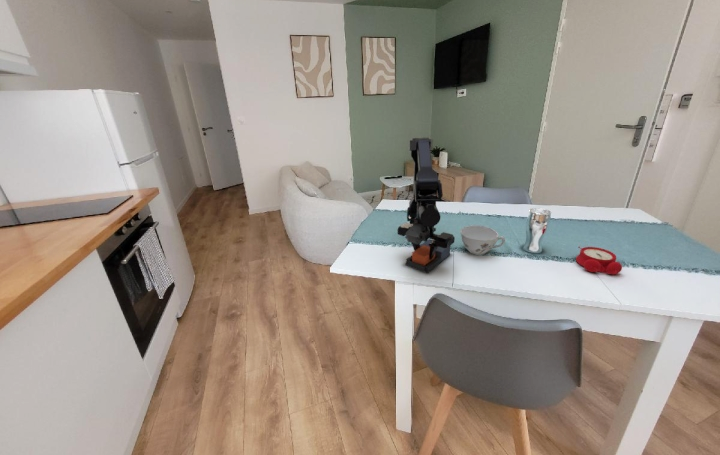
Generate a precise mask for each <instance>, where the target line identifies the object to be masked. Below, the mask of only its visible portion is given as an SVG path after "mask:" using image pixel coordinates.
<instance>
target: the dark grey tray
mask: <svg viewBox="0 0 720 455" xmlns="http://www.w3.org/2000/svg"><path fill="white" fill-rule="evenodd" d="M430 243H432V239H429V238H428V240H427V241H426V242H425V241H423V242H421V243H420V247H421V246H422V245H424V246H427V247H430V246H429V244H430ZM451 248H452V245H450V246H449V247H448V248H442V247H438V248H437V250H436V252H435V258H434V259H433V260H432V261H430V262H429V263H428V264H426V265H425V266H423V265H421V264H418V263H415V262H412V255H410V256H409V257H407V258H406V259H405V260H406V261H405V263H404V265H405V266H407V267H410V268H411V269H415V270H418V271H420V272H423V273H426V274H429V273H430V272H432V271H433V270H434V269H435V268H436V267H437V266H439V265H440V264H441V263H442V262H443V261H445V260H446V259H447V258H449V256H451Z"/></svg>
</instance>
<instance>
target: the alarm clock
mask: <svg viewBox="0 0 720 455" xmlns="http://www.w3.org/2000/svg"><path fill="white" fill-rule="evenodd" d="M577 248H578V249H580V251H579V254H578V255H577V256H576V257H575V261H576V263H577V264H578V265H580V266H581V267H584V270H586V271H587V272H590V273H597V272H599V273H603V274H609V275H618V274H619V273H621V271H622V270H623V266H622V264H621V262H618V261H617V255H616V253H613V252H612V251H610V250H607V249H605V248H601V247H596V246H584V247H581V246H578V247H577Z"/></svg>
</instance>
